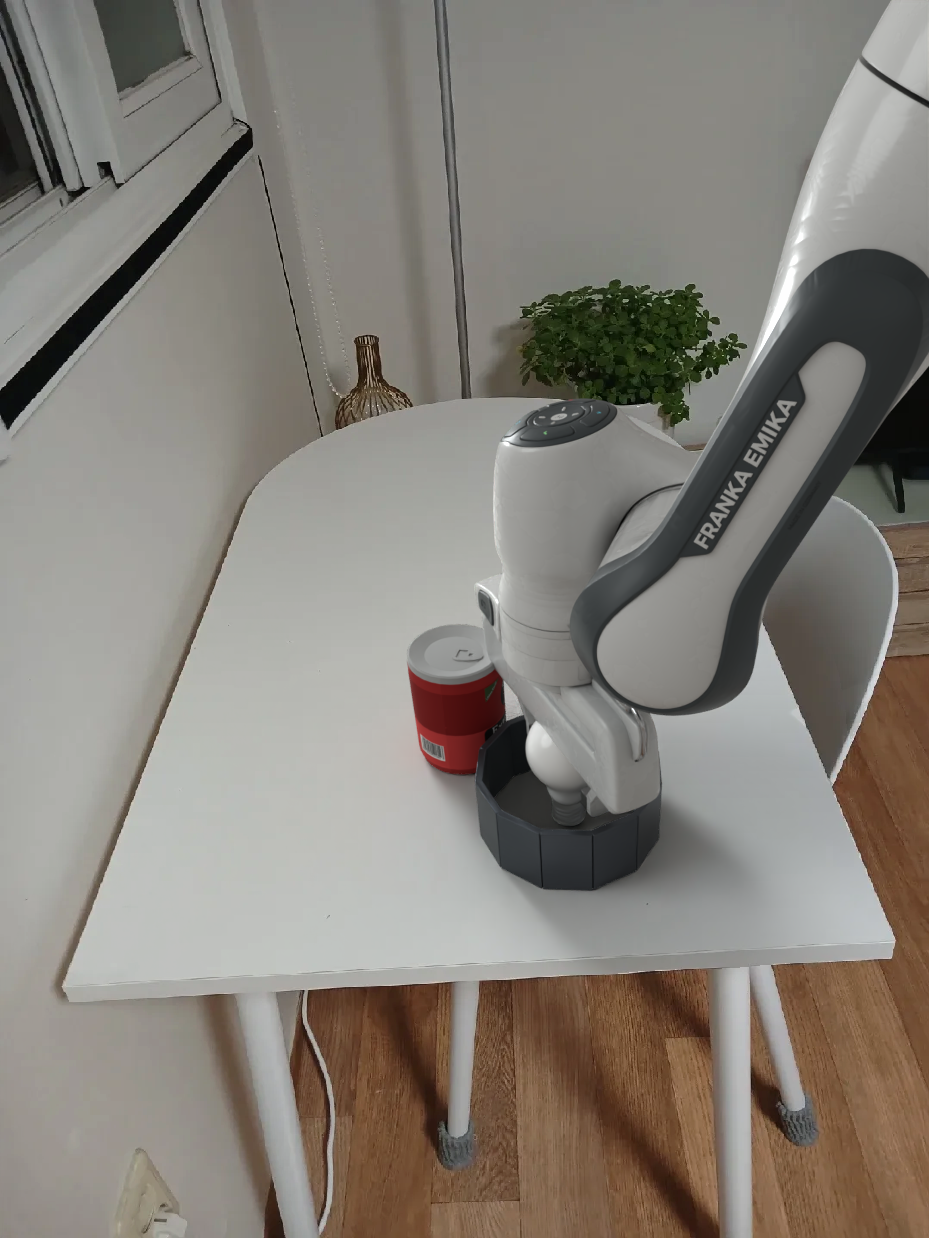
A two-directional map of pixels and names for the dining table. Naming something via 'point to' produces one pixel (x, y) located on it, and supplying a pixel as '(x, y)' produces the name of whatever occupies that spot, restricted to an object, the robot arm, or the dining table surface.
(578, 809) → the lightbulb
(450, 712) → the canned food
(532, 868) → the dark grey polygonal container
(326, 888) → the dining table surface
